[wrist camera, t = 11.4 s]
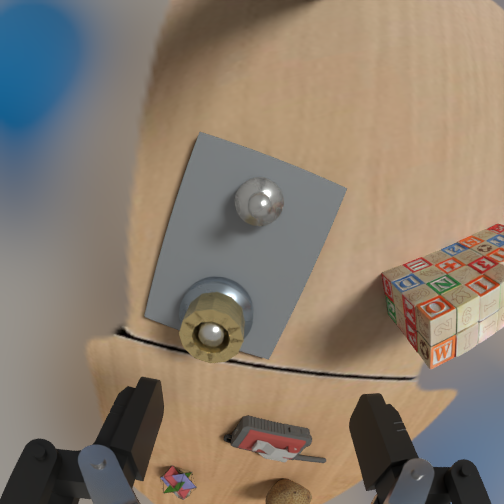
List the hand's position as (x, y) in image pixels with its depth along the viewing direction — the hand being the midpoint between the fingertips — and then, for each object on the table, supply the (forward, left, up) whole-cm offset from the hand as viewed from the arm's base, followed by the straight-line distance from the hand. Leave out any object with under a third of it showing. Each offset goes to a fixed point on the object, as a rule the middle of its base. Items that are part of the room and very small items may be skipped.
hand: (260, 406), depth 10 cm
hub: (+8, -2, -21) cm, 23 cm away
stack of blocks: (-7, +25, -23) cm, 35 cm away
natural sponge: (+43, +23, -23) cm, 54 cm away
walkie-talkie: (+29, +16, -23) cm, 40 cm away
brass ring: (+8, -2, -19) cm, 21 cm away
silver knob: (-5, -2, -21) cm, 22 cm away
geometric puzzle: (+48, +2, -23) cm, 53 cm away
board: (+1, -2, -23) cm, 23 cm away
